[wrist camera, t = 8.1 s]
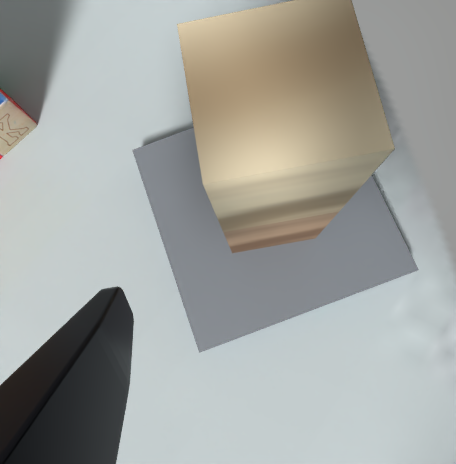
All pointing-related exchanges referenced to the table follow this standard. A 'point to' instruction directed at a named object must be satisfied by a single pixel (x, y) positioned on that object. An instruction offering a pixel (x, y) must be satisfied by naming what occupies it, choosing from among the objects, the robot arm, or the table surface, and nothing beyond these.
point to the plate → (261, 251)
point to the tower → (282, 117)
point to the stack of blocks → (12, 123)
